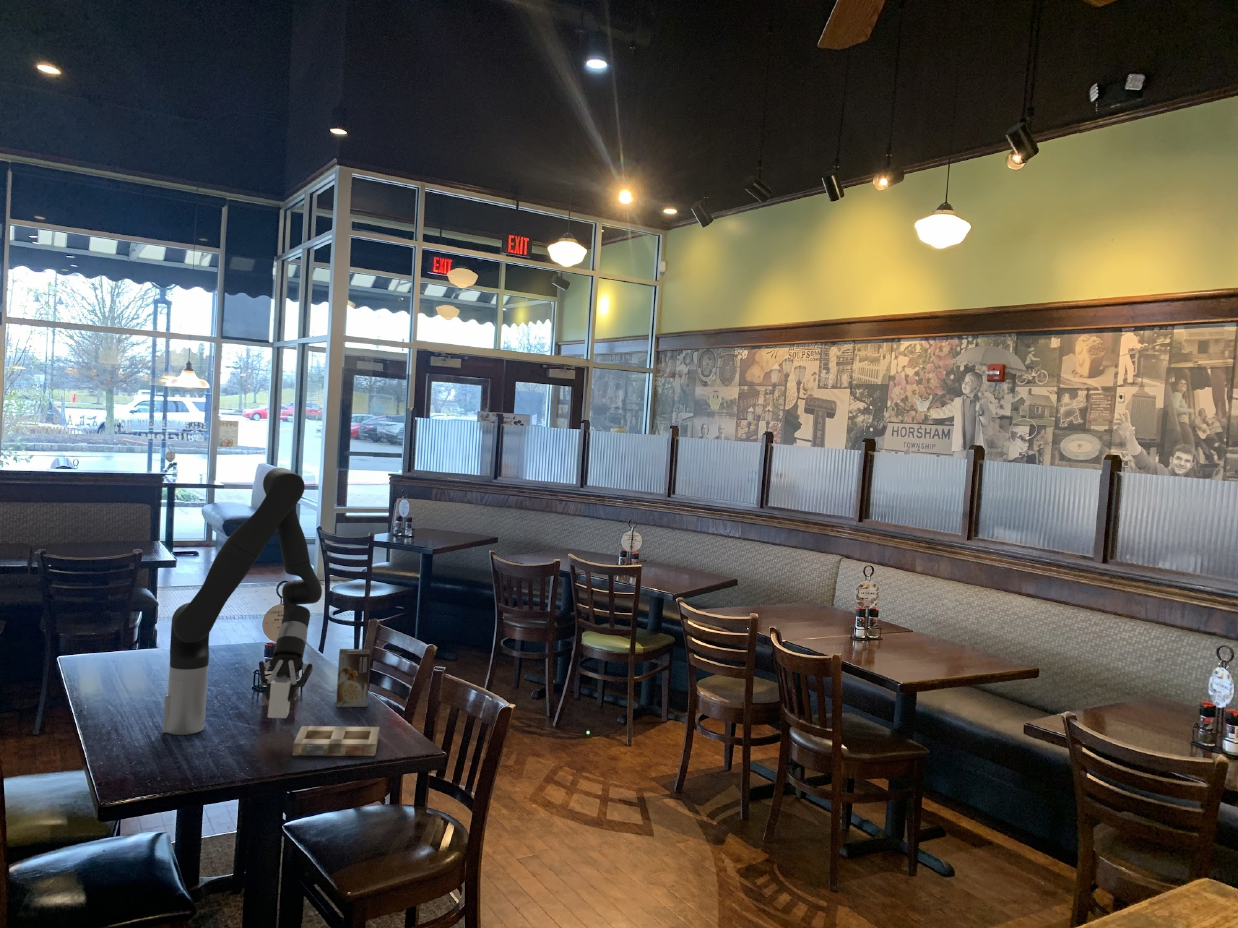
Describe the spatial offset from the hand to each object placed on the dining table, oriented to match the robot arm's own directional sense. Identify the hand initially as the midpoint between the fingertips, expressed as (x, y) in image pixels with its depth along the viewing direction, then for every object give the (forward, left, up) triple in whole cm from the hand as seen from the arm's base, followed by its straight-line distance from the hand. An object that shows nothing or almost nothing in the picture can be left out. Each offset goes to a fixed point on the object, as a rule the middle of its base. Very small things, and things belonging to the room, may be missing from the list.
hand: (278, 699), depth 224 cm
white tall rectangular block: (0, +2, -5) cm, 5 cm away
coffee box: (+15, +35, -12) cm, 40 cm away
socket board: (+15, -1, -12) cm, 19 cm away
